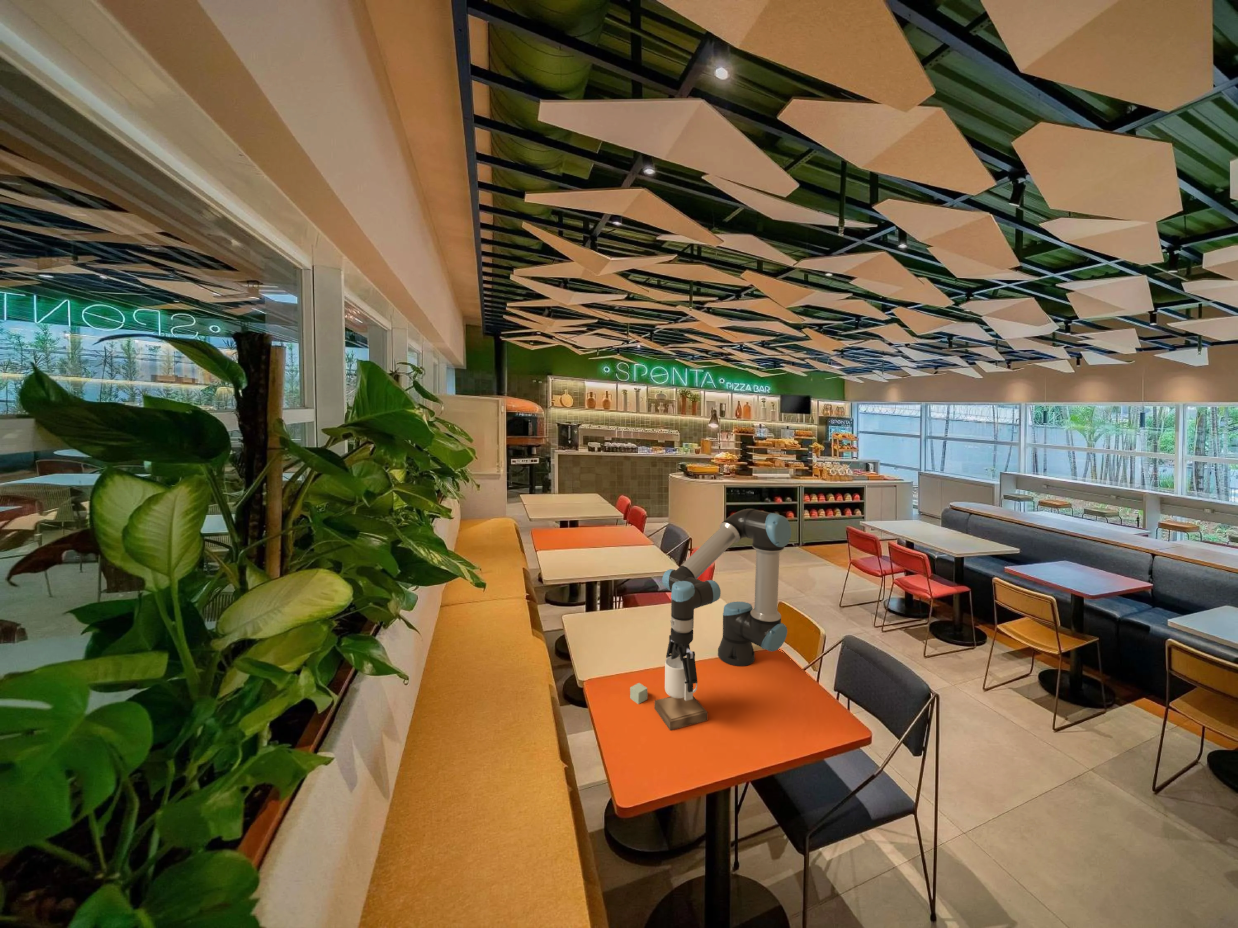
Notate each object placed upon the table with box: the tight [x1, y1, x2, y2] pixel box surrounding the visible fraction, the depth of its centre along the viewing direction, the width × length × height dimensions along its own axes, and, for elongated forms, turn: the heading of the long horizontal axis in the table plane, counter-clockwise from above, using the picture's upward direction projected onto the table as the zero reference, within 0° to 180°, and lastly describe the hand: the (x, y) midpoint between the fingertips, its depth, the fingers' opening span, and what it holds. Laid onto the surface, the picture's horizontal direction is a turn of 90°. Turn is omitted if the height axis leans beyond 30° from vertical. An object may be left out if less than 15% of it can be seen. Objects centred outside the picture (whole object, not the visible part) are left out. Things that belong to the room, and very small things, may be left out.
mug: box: [664, 655, 698, 698], centre depth 158 cm, size 9×12×11 cm
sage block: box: [629, 682, 648, 705], centre depth 169 cm, size 4×4×4 cm
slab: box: [654, 695, 708, 731], centre depth 160 cm, size 14×12×3 cm
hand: (680, 689), depth 159 cm, fingers closed on mug, 10 cm apart
